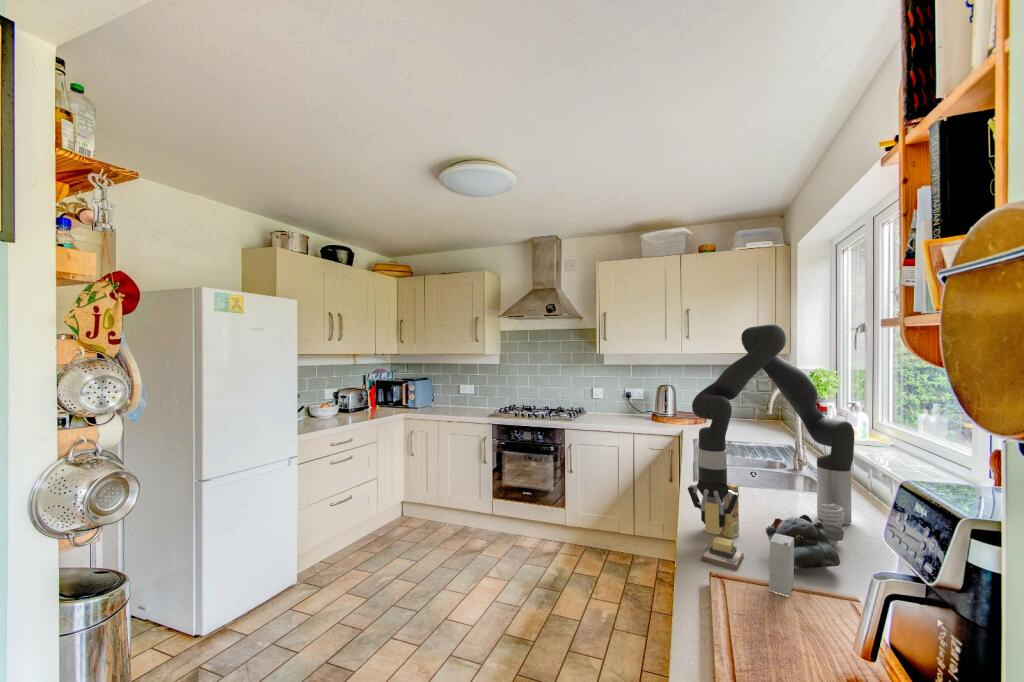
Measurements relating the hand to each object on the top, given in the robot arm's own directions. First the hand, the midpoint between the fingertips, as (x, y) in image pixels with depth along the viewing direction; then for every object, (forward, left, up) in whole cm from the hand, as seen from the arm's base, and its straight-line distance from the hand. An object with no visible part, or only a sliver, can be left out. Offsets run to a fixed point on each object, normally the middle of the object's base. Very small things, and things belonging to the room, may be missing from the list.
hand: (713, 524), depth 128 cm
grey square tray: (+7, +4, -6) cm, 10 cm away
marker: (0, 0, -2) cm, 2 cm away
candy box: (-12, 0, -6) cm, 14 cm away
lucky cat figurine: (-1, +21, -7) cm, 22 cm away
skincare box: (+15, +18, -6) cm, 24 cm away
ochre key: (+6, +4, -4) cm, 8 cm away
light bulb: (-21, +27, -6) cm, 35 cm away
